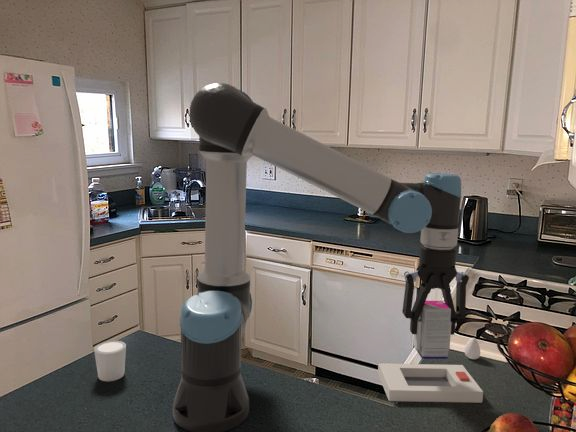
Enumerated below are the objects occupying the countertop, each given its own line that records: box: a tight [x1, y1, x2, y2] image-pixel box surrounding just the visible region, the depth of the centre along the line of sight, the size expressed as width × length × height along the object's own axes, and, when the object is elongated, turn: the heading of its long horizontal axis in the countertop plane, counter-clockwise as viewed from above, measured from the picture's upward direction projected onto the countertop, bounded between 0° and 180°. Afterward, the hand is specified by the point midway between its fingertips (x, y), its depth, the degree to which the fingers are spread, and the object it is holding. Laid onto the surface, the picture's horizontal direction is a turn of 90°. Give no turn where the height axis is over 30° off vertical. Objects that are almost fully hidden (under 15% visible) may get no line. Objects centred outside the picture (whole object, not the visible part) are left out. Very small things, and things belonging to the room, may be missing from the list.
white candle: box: [93, 340, 127, 382], centre depth 109 cm, size 7×7×7 cm
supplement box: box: [414, 300, 451, 360], centre depth 105 cm, size 6×6×12 cm
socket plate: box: [377, 363, 484, 404], centre depth 107 cm, size 20×12×3 cm, turn 91°
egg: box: [463, 337, 481, 360], centre depth 122 cm, size 4×4×6 cm
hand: (431, 347), depth 106 cm, fingers closed on supplement box, 6 cm apart
